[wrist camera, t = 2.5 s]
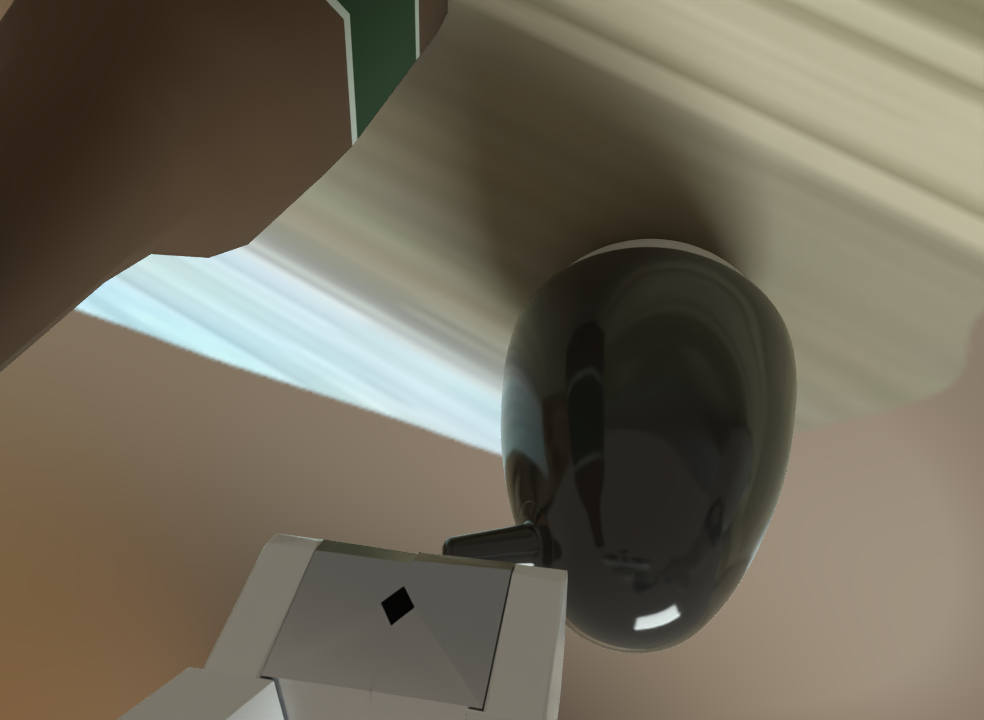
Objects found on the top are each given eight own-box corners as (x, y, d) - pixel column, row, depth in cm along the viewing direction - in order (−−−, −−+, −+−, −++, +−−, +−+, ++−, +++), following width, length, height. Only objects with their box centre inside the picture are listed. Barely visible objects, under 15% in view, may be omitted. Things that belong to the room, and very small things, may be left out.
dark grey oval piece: (536, 173, 34) (441, 452, 22) (824, 224, 33) (889, 544, 21) (507, 387, 40) (420, 695, 28) (747, 434, 39) (764, 773, 27)
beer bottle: (299, 98, 34) (-223, 649, 15) (189, -127, 30) (-715, 234, 11) (496, 33, 31) (161, 609, 12) (404, -224, 27) (-310, 33, 8)
